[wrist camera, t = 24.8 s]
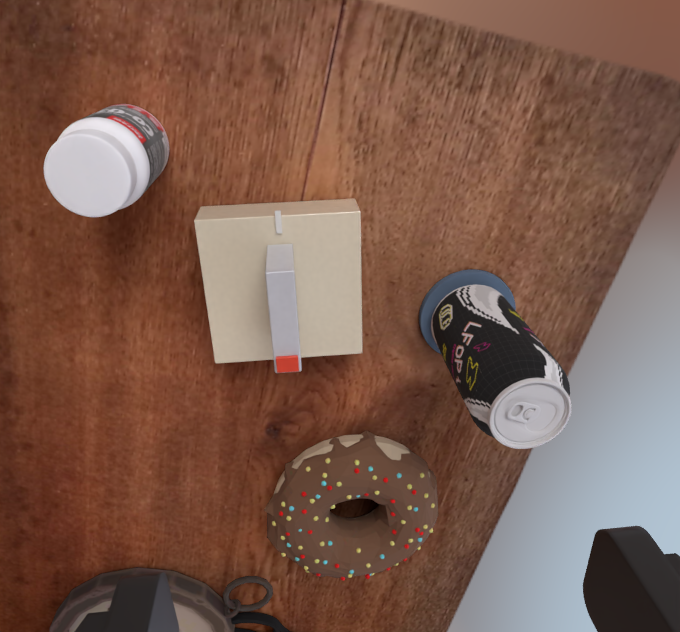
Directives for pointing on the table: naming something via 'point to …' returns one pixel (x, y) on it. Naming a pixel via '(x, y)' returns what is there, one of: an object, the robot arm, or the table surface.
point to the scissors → (257, 621)
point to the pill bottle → (106, 160)
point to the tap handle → (283, 308)
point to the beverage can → (501, 368)
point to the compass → (187, 594)
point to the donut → (346, 484)
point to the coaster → (452, 284)
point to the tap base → (310, 270)
